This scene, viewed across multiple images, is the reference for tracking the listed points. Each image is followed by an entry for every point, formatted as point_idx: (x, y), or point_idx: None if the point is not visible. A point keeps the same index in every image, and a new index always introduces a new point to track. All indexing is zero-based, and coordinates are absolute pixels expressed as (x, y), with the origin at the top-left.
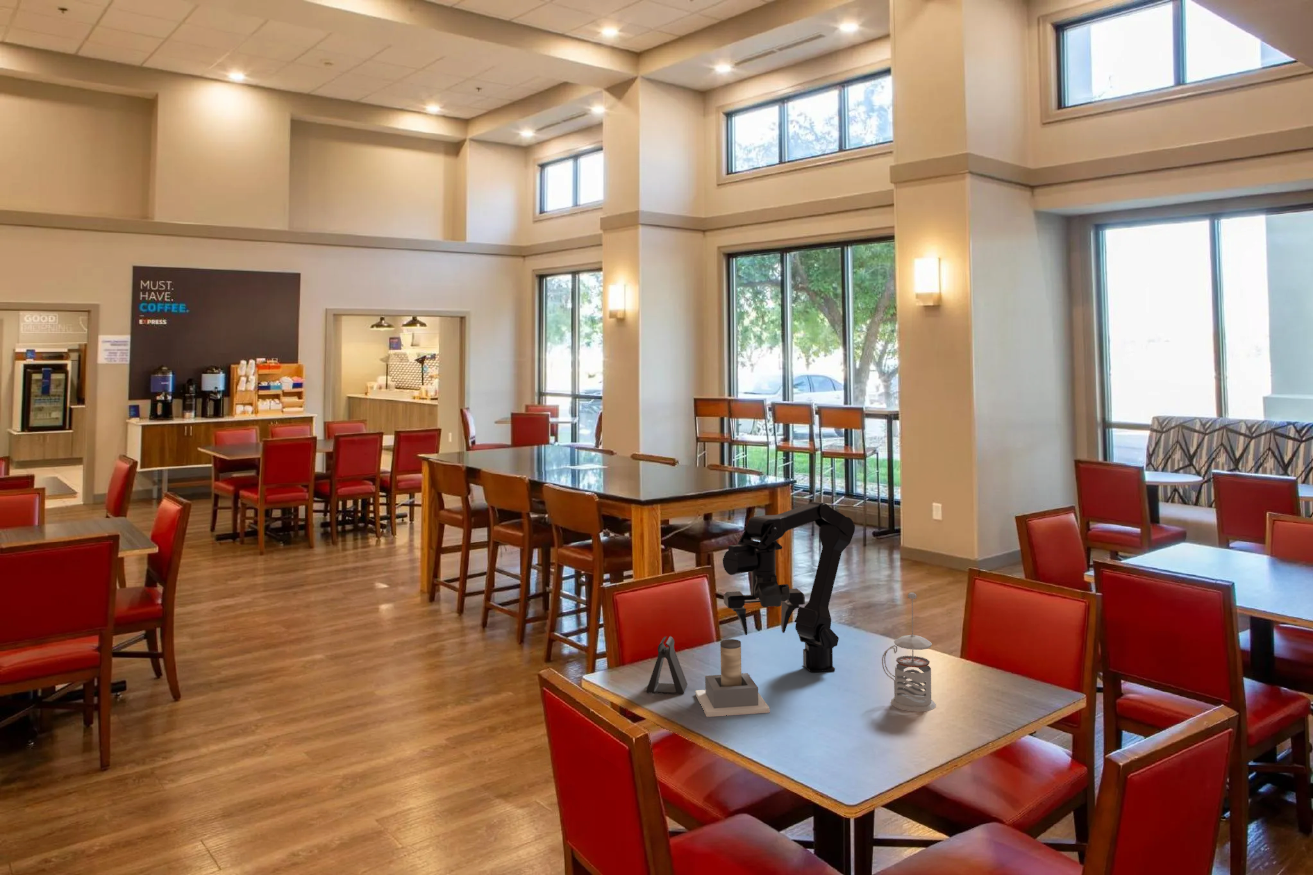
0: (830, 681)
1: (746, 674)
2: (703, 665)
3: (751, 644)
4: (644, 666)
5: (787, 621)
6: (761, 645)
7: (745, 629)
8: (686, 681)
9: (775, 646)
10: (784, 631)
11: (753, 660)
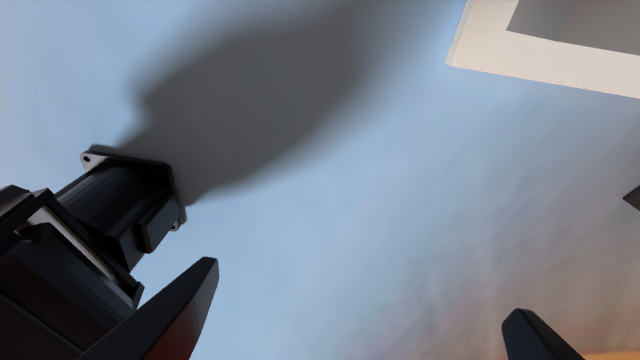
0: (110, 57)
1: (585, 12)
2: (446, 304)
3: (269, 356)
4: (585, 341)
5: (108, 343)
6: (249, 347)
7: (572, 355)
8: (636, 207)
9: (220, 335)
10: (199, 262)
11: (305, 291)
